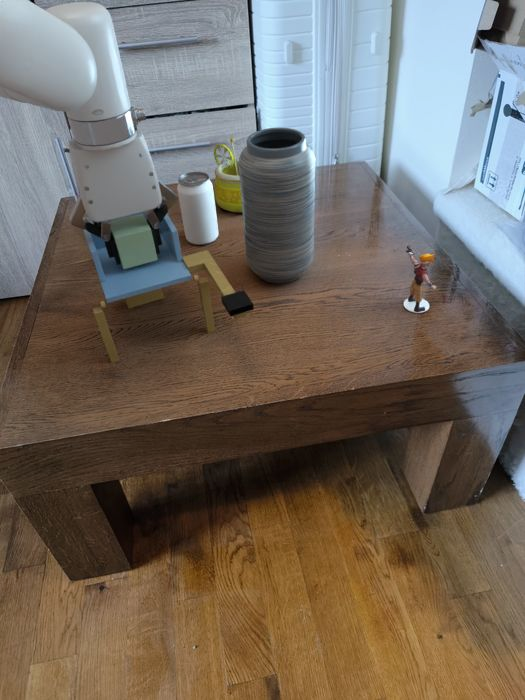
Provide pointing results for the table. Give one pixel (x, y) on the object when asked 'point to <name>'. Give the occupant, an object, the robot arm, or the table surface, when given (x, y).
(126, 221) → the block
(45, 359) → the table surface
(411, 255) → the action figure
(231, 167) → the yellow lemon pot
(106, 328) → the tan bar frame
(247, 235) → the vase
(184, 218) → the can
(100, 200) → the robot arm
